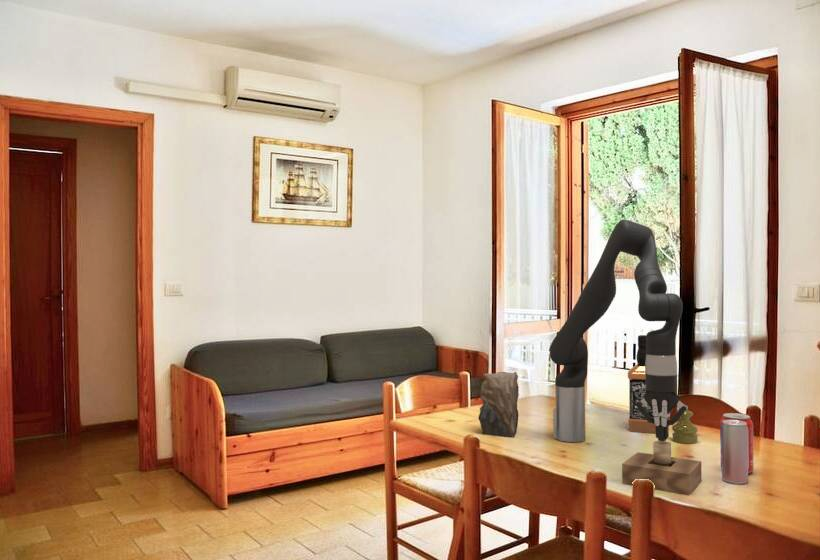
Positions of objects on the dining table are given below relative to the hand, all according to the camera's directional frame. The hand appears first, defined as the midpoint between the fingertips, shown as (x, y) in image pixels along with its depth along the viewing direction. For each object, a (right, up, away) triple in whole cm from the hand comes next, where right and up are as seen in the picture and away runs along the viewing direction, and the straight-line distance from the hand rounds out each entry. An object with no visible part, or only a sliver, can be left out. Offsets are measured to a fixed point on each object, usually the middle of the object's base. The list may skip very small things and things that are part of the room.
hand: (662, 440), depth 166 cm
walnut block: (0, -11, 0) cm, 11 cm away
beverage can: (+19, -11, 0) cm, 21 cm away
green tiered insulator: (+23, -10, +40) cm, 48 cm away
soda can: (+23, -11, +8) cm, 27 cm away
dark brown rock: (-33, -11, +53) cm, 64 cm away
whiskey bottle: (+16, -10, +56) cm, 60 cm away
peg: (0, -11, 0) cm, 11 cm away
